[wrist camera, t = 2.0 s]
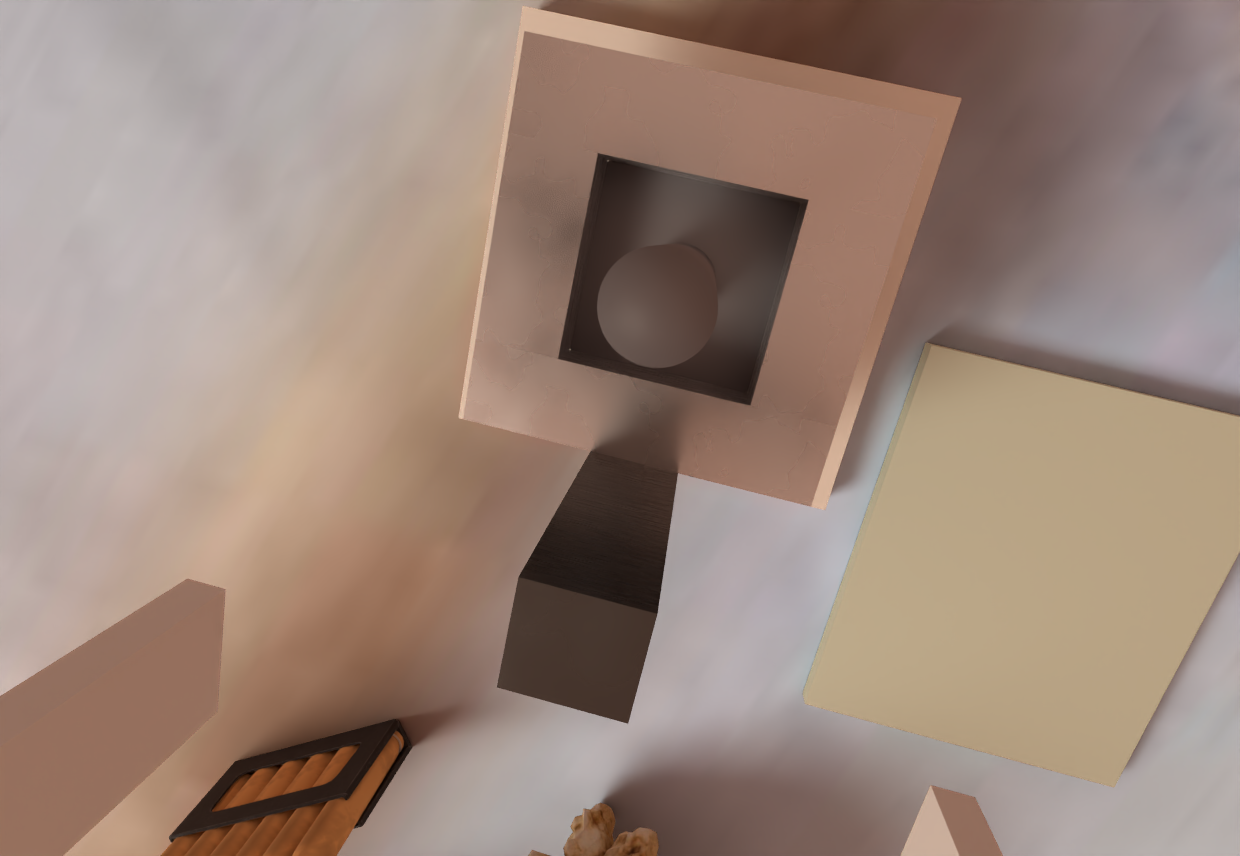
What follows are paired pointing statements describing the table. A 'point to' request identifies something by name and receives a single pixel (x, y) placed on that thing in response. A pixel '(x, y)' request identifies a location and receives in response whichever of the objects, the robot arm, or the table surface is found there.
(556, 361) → the pink square frame
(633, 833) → the mineral formation
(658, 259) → the stand
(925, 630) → the mat
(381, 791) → the ammunition clip
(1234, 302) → the table surface
